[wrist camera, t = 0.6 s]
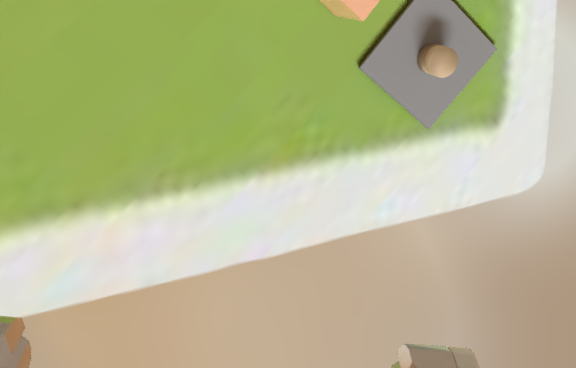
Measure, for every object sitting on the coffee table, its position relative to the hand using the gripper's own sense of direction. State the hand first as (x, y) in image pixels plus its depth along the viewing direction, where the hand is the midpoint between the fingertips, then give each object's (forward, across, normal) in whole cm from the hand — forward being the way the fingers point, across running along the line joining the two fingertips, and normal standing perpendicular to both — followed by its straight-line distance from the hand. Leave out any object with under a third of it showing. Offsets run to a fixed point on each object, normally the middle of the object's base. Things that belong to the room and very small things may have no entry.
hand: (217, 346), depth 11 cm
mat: (+43, -18, +8) cm, 47 cm away
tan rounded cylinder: (+42, -18, +8) cm, 47 cm away
